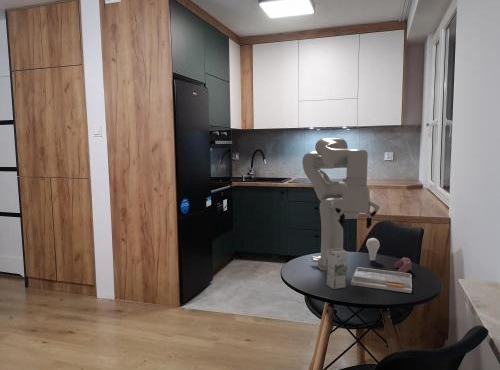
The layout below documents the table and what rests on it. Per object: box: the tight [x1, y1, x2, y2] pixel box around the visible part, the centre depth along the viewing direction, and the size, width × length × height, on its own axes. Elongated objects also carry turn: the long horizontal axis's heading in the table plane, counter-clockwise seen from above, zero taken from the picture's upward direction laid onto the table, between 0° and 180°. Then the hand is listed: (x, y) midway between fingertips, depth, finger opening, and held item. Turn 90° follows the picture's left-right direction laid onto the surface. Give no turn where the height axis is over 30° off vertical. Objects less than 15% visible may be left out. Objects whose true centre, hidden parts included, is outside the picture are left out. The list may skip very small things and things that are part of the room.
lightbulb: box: [365, 237, 381, 262], centre depth 178 cm, size 6×6×11 cm
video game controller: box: [393, 256, 413, 273], centre depth 163 cm, size 10×5×7 cm, turn 169°
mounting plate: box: [350, 268, 413, 294], centre depth 151 cm, size 22×18×2 cm
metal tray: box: [352, 266, 411, 287], centre depth 151 cm, size 21×13×1 cm, turn 67°
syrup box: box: [325, 248, 348, 290], centre depth 145 cm, size 6×6×14 cm
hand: (355, 226), depth 144 cm, fingers open, 9 cm apart
